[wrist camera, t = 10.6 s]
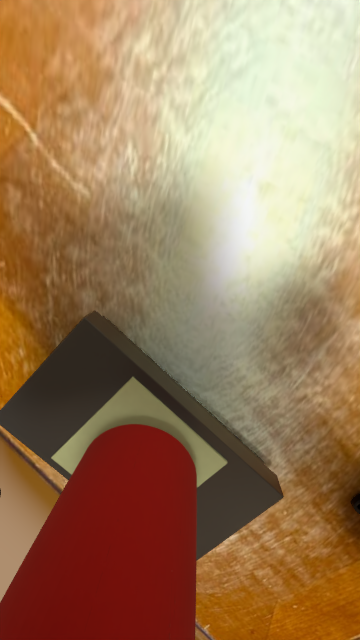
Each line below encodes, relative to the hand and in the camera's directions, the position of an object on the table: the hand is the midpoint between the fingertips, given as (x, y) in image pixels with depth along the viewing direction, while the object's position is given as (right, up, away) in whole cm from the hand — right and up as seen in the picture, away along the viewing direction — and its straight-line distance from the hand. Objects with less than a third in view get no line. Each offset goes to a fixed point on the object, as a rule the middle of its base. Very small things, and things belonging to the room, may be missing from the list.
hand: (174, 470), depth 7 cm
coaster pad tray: (-2, -4, +14) cm, 15 cm away
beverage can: (-2, -5, +11) cm, 13 cm away
